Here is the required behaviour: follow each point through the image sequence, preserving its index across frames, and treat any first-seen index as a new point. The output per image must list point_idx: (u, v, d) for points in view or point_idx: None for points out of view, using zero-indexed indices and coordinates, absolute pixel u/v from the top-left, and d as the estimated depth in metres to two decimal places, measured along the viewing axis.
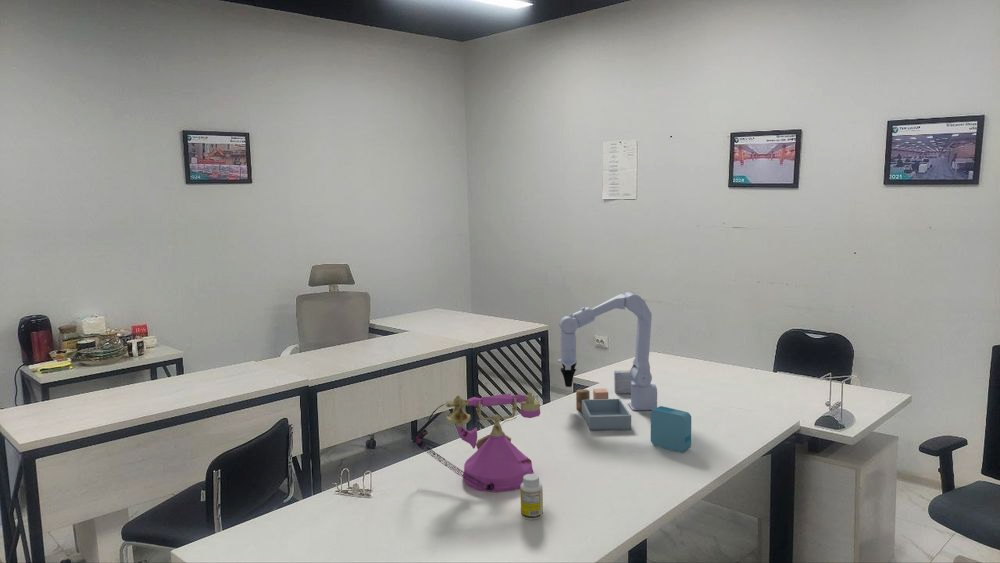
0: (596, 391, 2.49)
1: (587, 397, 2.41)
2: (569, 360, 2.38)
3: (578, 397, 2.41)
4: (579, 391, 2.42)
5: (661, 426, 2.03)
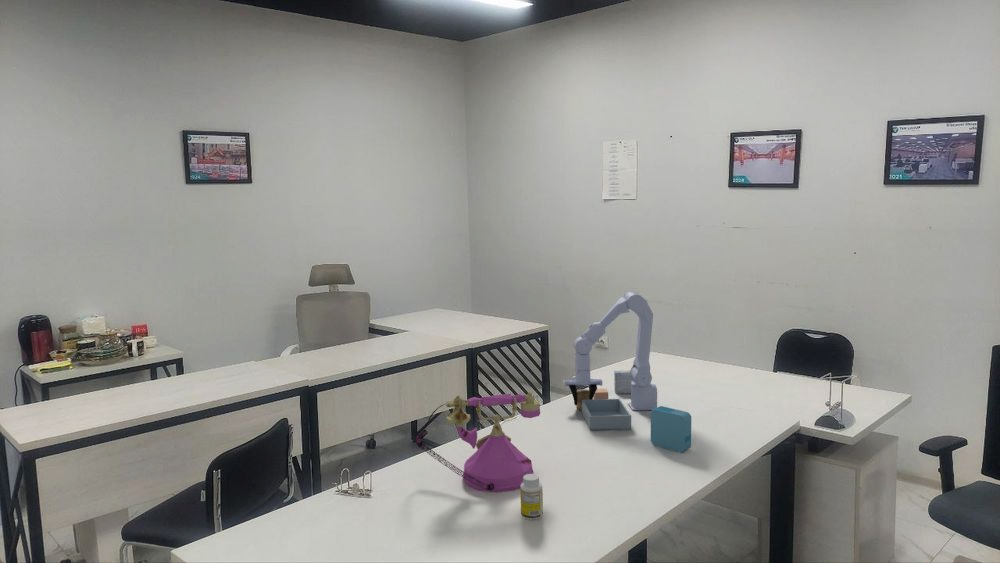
0: (596, 391, 2.48)
1: (587, 397, 2.41)
2: (575, 379, 2.41)
3: (578, 397, 2.41)
4: (579, 391, 2.42)
5: (661, 426, 2.03)
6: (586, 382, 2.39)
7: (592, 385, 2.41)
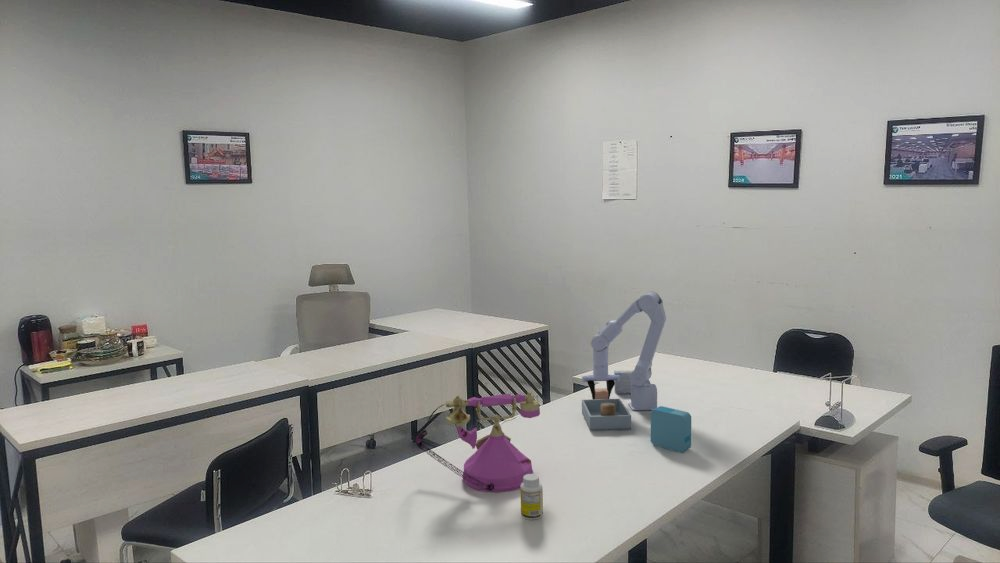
0: (596, 391, 2.48)
1: (614, 411, 2.22)
2: (593, 375, 2.48)
3: (605, 412, 2.21)
4: (605, 405, 2.22)
5: (661, 426, 2.03)
6: (604, 378, 2.46)
7: (610, 381, 2.48)
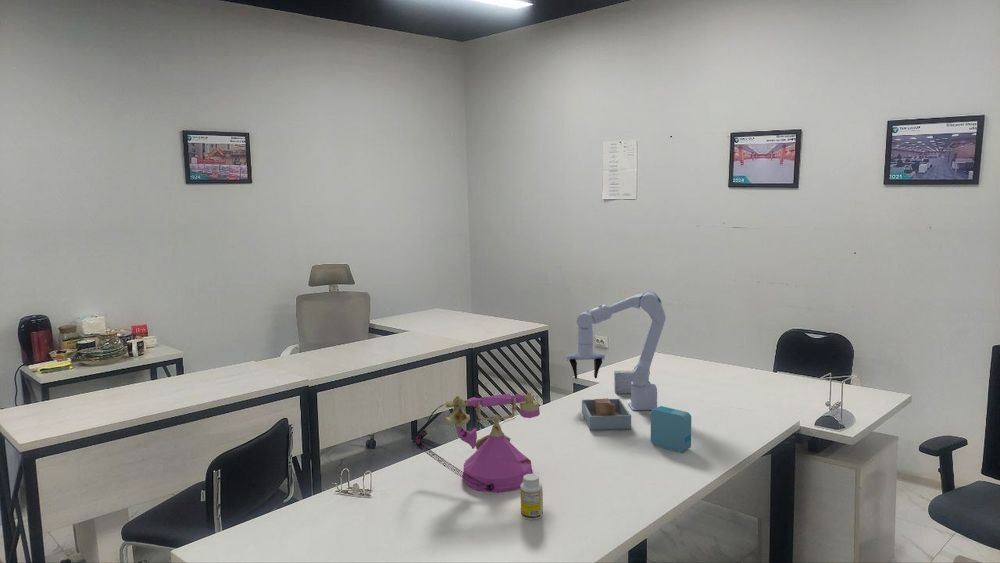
0: (598, 401, 2.33)
1: (614, 411, 2.22)
2: (578, 353, 2.46)
3: (605, 412, 2.21)
4: (605, 405, 2.22)
5: (661, 426, 2.03)
6: (589, 356, 2.44)
7: (594, 359, 2.46)
